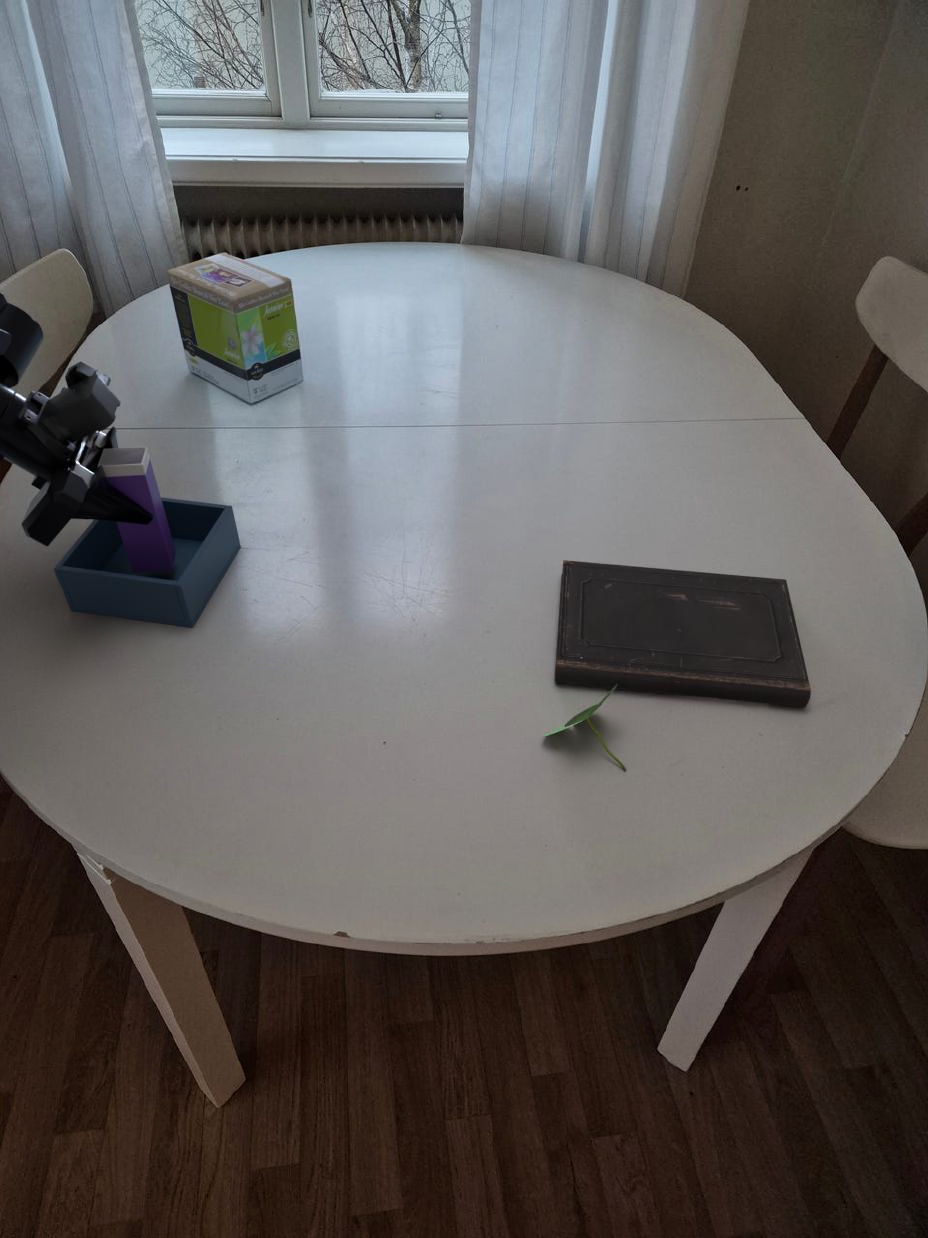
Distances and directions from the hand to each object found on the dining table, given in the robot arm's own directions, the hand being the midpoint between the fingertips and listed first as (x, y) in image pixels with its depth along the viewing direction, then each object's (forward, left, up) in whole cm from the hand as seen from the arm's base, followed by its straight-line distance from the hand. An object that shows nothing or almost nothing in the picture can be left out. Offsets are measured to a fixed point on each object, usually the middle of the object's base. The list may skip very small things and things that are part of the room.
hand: (153, 510), depth 86 cm
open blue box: (-1, 0, -9) cm, 9 cm away
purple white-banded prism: (-1, 0, -7) cm, 7 cm away
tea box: (-8, +44, -9) cm, 45 cm away
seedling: (+45, -15, -9) cm, 48 cm away
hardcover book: (+53, +1, -9) cm, 53 cm away
